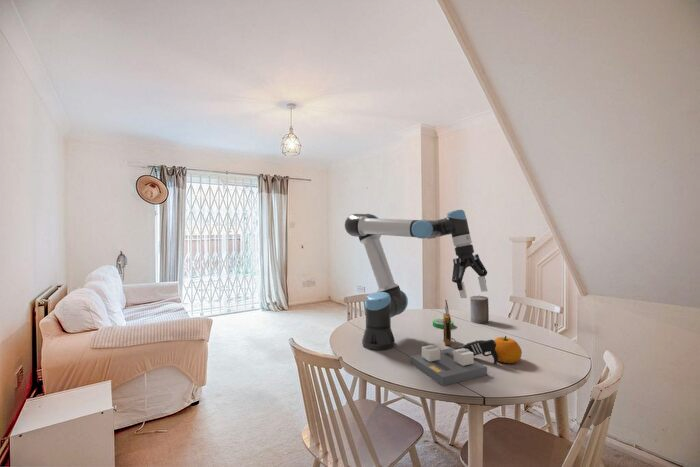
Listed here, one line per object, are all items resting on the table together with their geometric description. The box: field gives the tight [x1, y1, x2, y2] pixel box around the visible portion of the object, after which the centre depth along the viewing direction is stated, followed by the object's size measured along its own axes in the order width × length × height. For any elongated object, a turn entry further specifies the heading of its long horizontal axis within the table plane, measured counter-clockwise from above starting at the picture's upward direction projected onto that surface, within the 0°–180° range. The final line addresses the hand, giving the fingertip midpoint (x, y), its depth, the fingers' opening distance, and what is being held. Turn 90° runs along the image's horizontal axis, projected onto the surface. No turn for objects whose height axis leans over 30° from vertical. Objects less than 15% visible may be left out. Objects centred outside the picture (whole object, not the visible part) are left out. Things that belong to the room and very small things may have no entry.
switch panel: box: [409, 347, 488, 387], centre depth 123 cm, size 20×20×3 cm
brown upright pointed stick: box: [442, 299, 466, 350], centre depth 150 cm, size 15×10×20 cm
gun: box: [461, 339, 499, 365], centre depth 131 cm, size 3×16×10 cm, turn 51°
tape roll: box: [432, 318, 455, 330], centre depth 177 cm, size 11×11×3 cm
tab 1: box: [421, 344, 441, 362], centre depth 125 cm, size 5×5×4 cm
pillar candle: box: [469, 295, 490, 325], centre depth 184 cm, size 10×10×15 cm
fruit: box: [491, 335, 523, 364], centre depth 131 cm, size 12×12×10 cm
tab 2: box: [453, 347, 475, 366], centre depth 121 cm, size 5×5×4 cm
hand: (474, 294), depth 136 cm, fingers open, 13 cm apart
